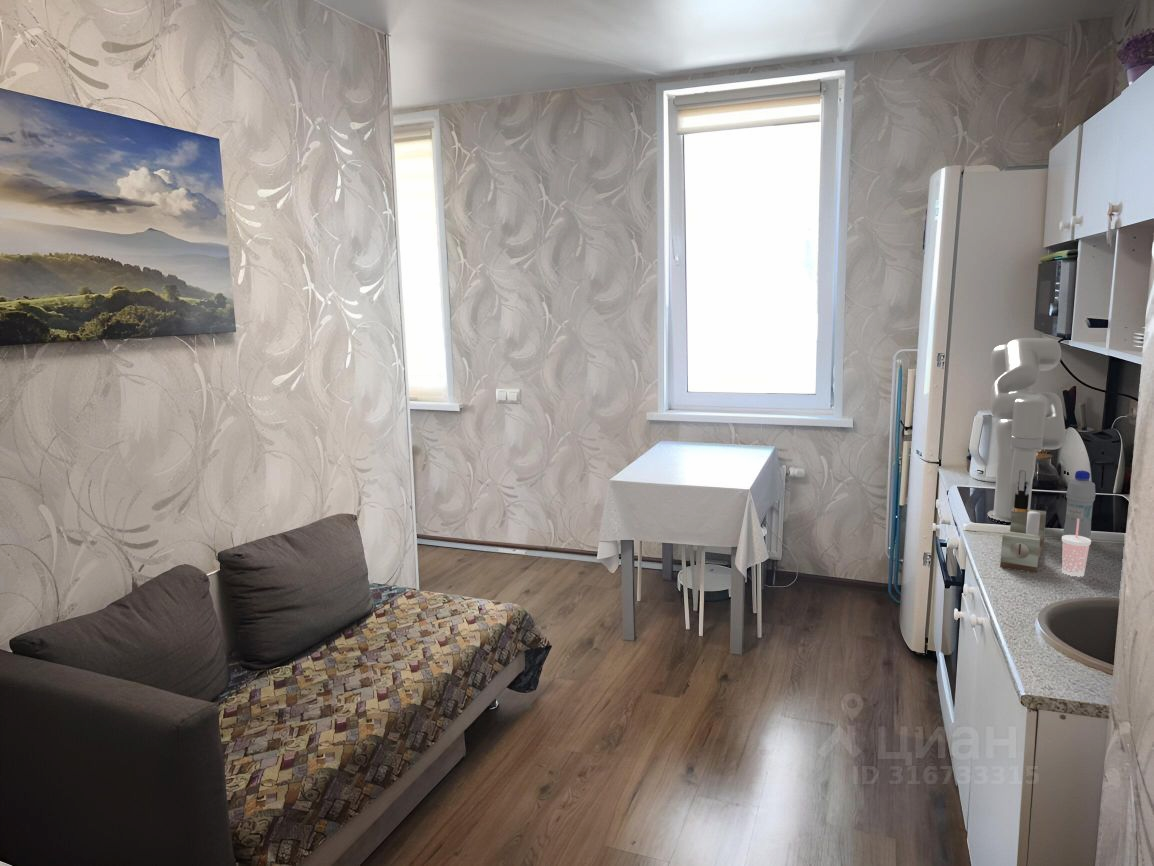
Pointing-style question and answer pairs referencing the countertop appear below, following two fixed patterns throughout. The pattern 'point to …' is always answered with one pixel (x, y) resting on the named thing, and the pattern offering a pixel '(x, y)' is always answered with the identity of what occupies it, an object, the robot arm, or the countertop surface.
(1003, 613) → the countertop surface
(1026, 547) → the rail stand
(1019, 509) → the button
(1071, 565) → the beverage cup
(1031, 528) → the carriage
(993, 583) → the countertop surface
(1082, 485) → the bottle
